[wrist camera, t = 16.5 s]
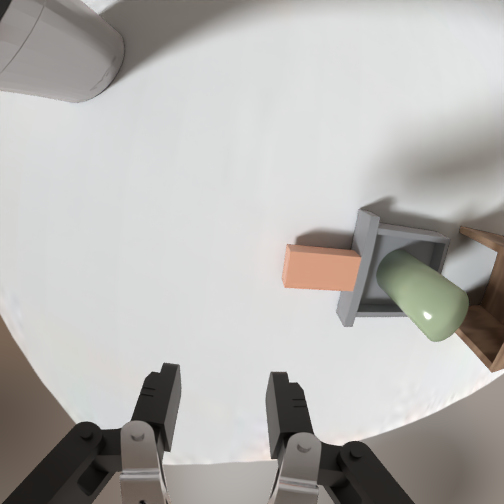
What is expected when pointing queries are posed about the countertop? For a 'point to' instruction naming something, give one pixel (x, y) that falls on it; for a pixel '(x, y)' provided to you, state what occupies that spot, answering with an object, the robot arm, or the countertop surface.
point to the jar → (423, 294)
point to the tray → (361, 265)
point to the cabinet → (487, 308)
